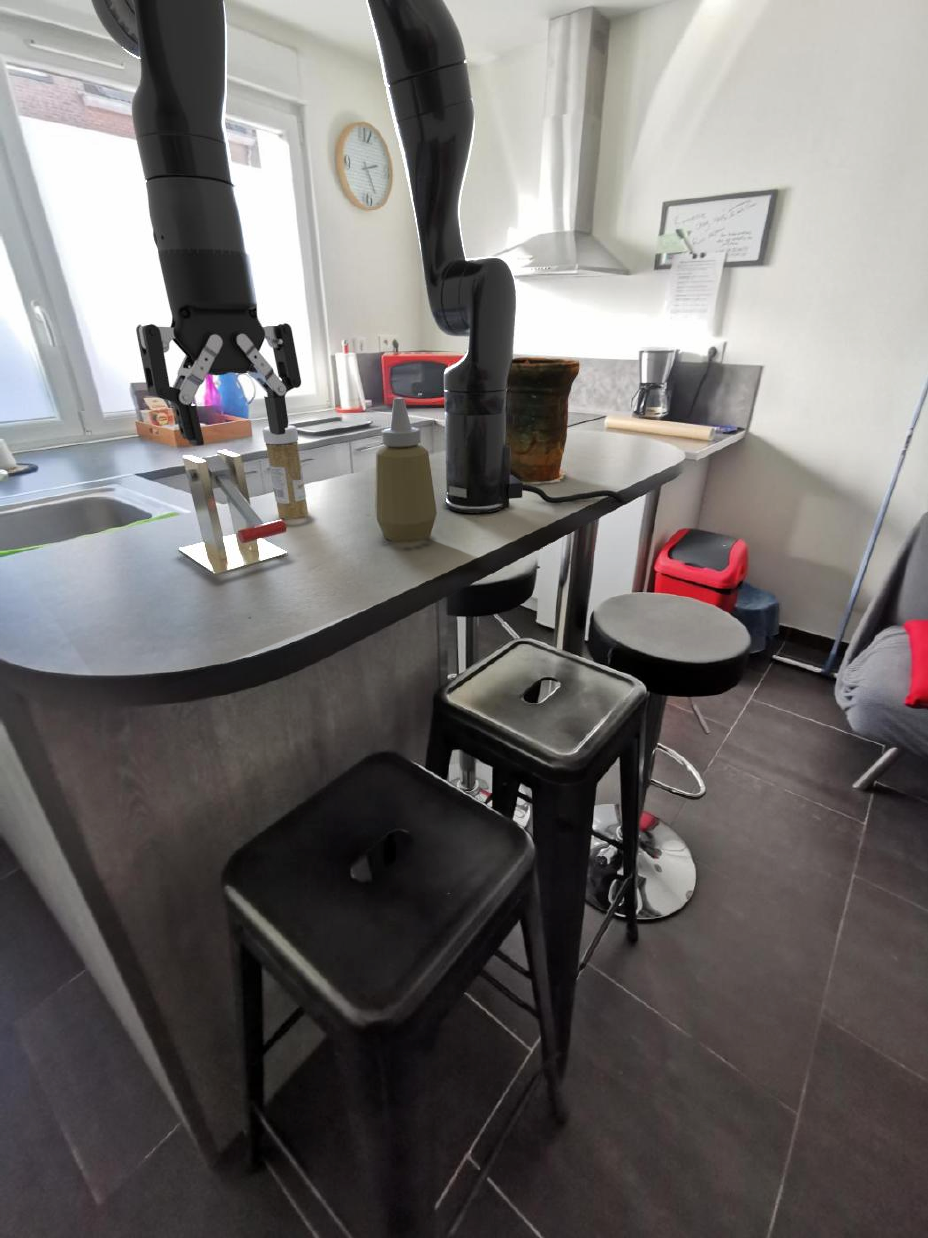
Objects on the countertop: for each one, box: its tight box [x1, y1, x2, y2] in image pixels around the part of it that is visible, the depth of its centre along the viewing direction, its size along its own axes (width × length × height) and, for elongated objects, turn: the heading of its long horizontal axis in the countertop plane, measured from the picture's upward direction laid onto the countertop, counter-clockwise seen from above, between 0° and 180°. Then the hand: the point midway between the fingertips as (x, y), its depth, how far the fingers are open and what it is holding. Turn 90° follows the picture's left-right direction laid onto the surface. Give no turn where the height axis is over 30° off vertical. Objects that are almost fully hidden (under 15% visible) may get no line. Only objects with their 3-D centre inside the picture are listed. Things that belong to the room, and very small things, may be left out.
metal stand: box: [178, 449, 288, 576], centre depth 67 cm, size 11×9×13 cm
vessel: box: [506, 356, 580, 485], centre depth 101 cm, size 14×14×20 cm
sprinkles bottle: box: [262, 424, 309, 520], centre depth 81 cm, size 5×5×13 cm
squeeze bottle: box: [374, 397, 438, 543], centre depth 72 cm, size 8×8×18 cm
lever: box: [199, 454, 288, 543], centre depth 63 cm, size 13×5×2 cm, turn 45°
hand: (239, 438), depth 57 cm, fingers open, 8 cm apart
